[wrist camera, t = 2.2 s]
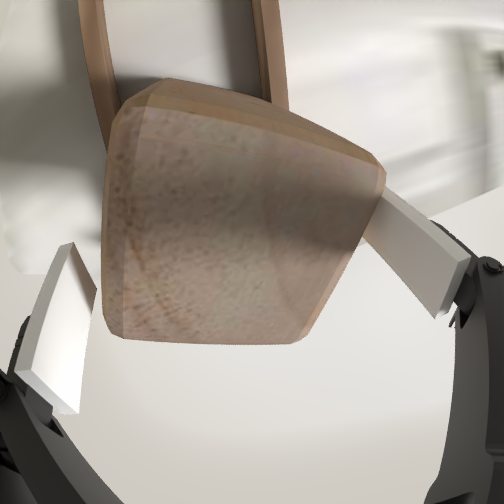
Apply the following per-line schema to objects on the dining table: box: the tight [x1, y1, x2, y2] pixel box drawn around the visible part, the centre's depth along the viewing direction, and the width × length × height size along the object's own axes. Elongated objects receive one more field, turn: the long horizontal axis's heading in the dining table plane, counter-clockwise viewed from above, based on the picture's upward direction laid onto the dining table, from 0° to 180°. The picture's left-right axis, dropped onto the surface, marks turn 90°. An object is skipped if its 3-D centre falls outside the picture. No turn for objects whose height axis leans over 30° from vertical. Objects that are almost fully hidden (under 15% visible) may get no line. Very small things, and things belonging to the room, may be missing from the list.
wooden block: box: [101, 78, 386, 345], centre depth 18 cm, size 10×10×20 cm
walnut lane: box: [78, 0, 289, 154], centre depth 22 cm, size 16×28×5 cm, turn 7°
